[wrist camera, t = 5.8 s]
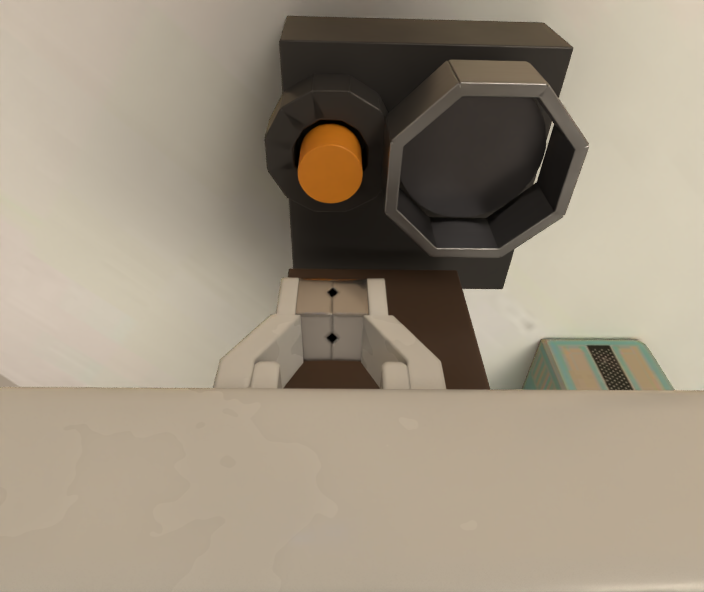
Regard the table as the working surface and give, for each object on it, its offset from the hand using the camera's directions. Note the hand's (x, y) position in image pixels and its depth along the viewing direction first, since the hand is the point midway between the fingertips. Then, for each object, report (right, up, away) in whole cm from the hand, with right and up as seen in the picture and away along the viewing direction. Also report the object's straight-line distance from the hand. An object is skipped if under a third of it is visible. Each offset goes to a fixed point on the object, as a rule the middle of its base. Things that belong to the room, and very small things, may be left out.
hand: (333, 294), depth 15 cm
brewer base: (+3, +8, +13) cm, 16 cm away
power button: (0, +6, +7) cm, 9 cm away
